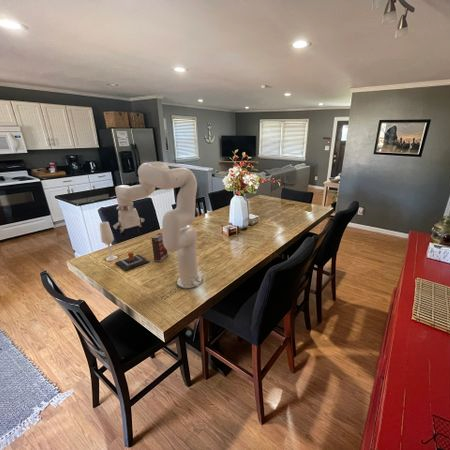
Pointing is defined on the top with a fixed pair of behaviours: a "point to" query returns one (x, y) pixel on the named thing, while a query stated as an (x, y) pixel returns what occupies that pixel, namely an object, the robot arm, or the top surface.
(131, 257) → the stud pad
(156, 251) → the supplement box
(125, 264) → the base pad
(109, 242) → the champagne flute
